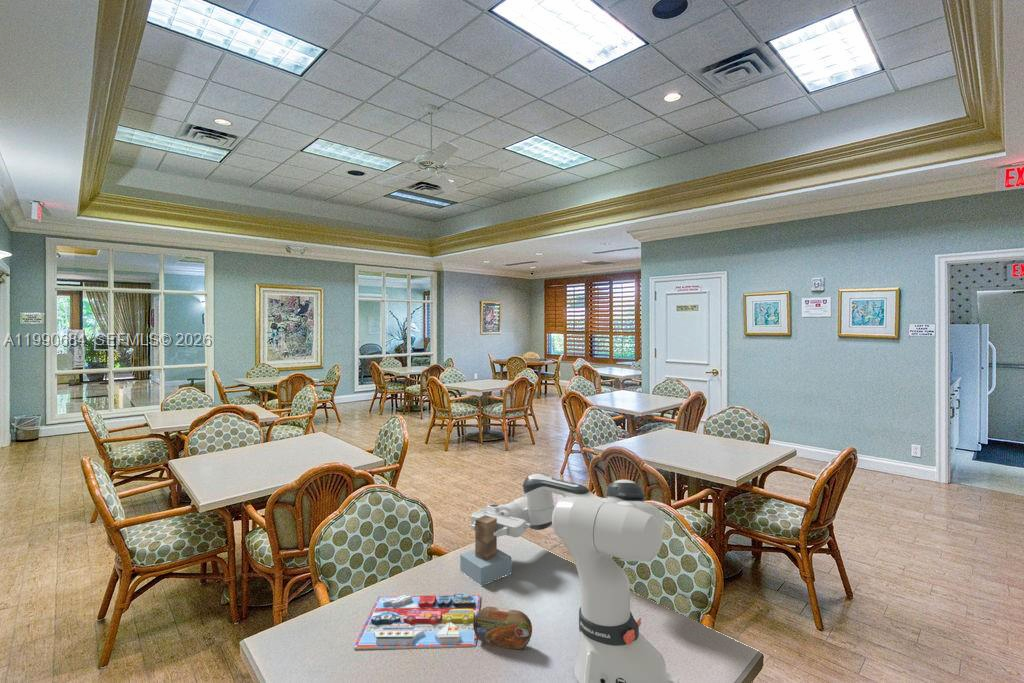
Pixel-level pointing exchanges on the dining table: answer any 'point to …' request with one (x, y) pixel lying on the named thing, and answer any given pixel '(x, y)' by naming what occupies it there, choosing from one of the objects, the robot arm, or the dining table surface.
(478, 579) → the grey box
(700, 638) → the dining table surface
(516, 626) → the tin
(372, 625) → the puzzle board
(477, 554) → the walnut block
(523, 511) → the robot arm
